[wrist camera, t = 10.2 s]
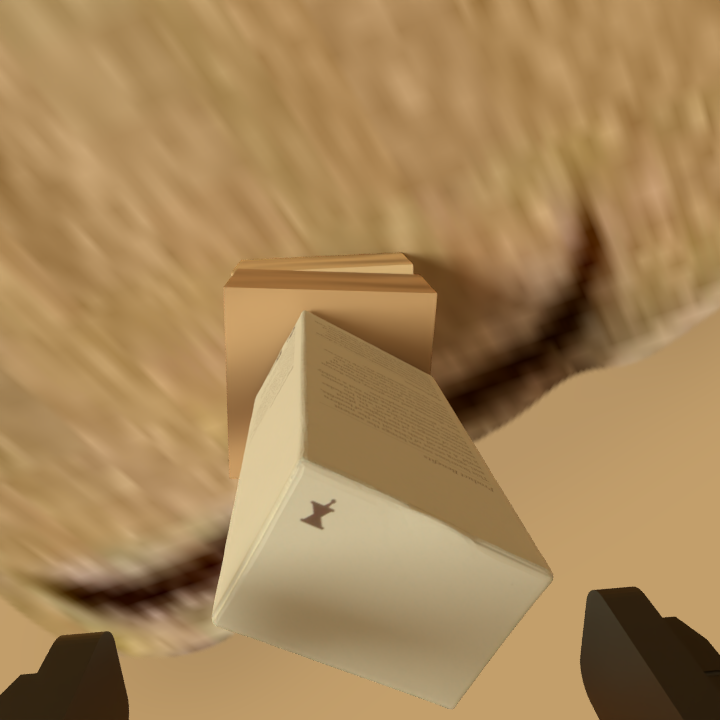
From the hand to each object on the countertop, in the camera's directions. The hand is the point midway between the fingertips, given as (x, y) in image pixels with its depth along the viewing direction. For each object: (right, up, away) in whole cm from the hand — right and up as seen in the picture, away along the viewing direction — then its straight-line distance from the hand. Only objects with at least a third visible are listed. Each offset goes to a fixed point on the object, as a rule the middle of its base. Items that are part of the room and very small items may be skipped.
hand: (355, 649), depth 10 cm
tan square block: (-1, +5, +17) cm, 18 cm away
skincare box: (0, +4, +13) cm, 14 cm away
